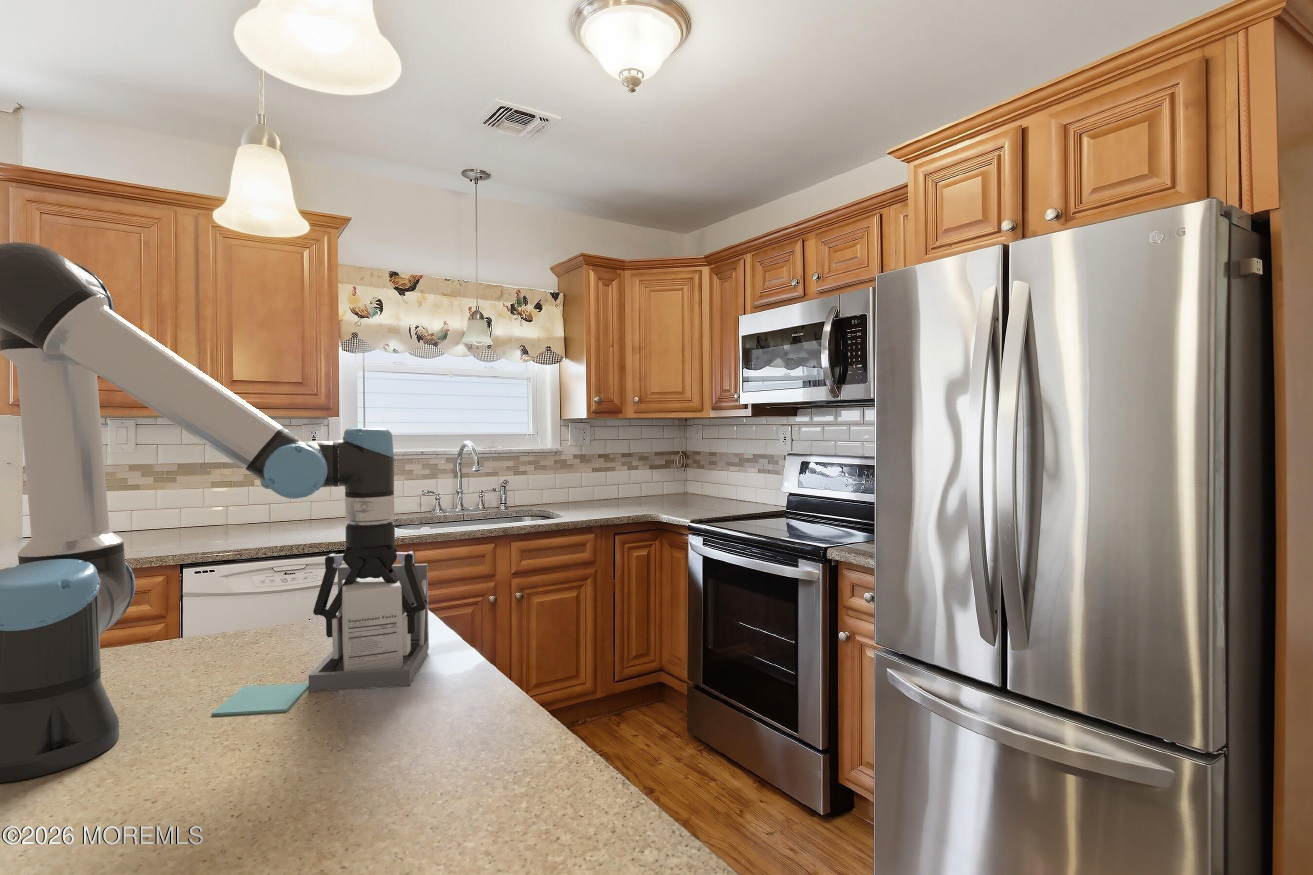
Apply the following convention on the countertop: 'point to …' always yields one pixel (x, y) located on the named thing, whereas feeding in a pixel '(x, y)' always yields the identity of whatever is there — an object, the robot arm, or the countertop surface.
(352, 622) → the supplement box
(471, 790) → the countertop surface
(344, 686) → the case
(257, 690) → the mat
